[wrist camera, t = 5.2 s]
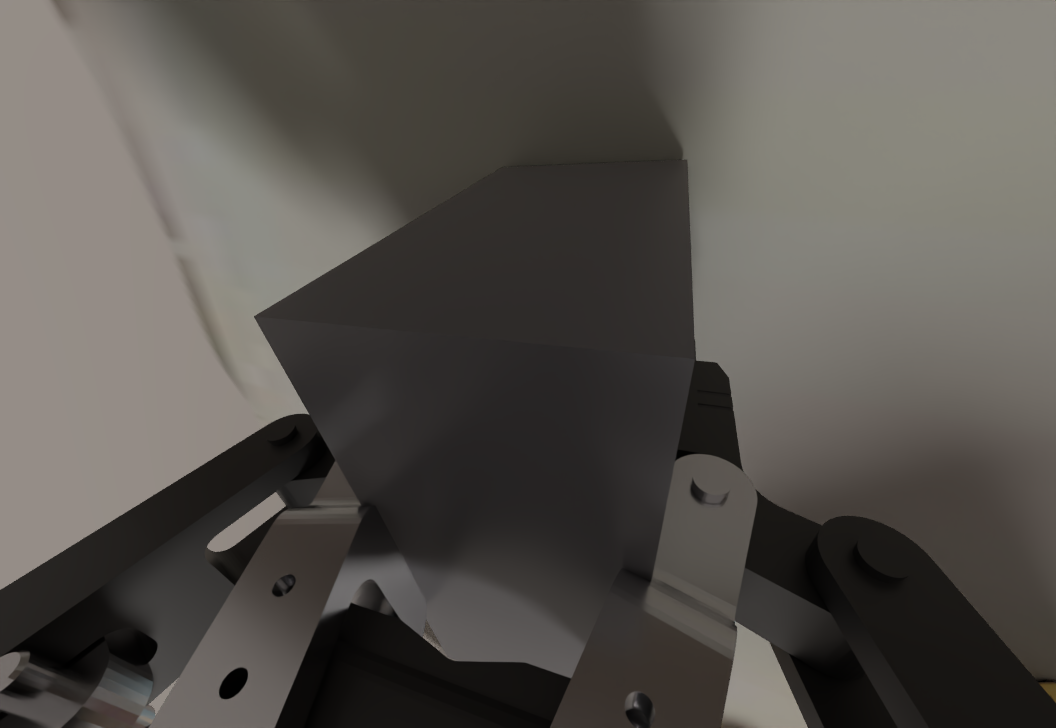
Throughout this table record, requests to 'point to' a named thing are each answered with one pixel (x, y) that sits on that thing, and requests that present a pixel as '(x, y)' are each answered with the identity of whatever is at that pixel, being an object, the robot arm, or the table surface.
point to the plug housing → (510, 394)
